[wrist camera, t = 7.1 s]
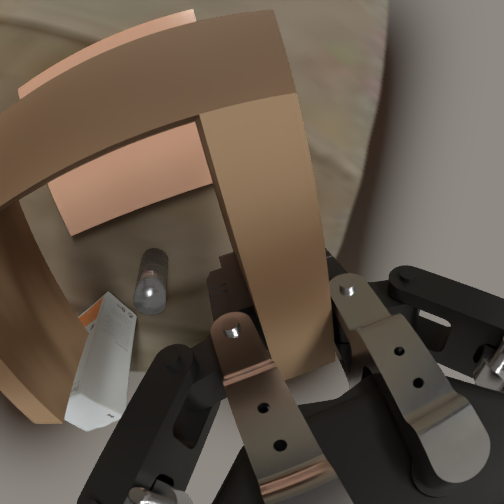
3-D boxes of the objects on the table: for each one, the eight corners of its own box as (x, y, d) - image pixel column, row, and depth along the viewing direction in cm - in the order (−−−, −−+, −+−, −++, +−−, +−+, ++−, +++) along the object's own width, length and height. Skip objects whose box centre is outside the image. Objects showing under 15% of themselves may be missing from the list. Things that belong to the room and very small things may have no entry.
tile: (74, 232, 21) (71, 236, 20) (22, 89, 14) (17, 89, 13) (236, 172, 22) (238, 175, 21) (192, 12, 15) (192, 8, 14)
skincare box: (107, 288, 25) (81, 392, 14) (138, 314, 27) (128, 418, 17) (75, 317, 25) (47, 411, 15) (104, 339, 27) (88, 433, 17)
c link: (-18, 180, 8) (-98, 222, 3) (231, 64, 9) (273, 9, 4) (63, 340, 13) (34, 423, 8) (283, 274, 14) (335, 361, 9)
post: (148, 274, 25) (142, 318, 20) (137, 253, 24) (127, 294, 18) (172, 266, 25) (170, 310, 20) (162, 244, 24) (157, 285, 19)
